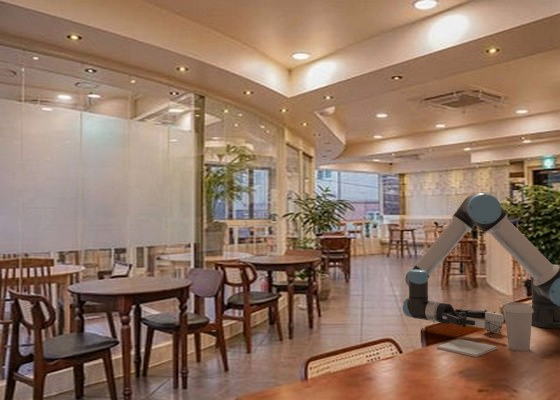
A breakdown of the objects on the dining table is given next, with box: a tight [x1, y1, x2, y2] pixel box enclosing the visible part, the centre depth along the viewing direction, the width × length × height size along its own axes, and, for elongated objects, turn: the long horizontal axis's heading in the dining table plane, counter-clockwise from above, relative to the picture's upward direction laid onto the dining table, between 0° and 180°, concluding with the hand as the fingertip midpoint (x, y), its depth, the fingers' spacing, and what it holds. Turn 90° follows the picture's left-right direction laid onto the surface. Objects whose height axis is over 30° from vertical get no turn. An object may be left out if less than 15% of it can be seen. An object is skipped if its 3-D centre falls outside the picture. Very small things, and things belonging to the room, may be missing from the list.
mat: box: [436, 338, 497, 358], centre depth 167 cm, size 14×14×1 cm
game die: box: [482, 311, 506, 335], centre depth 188 cm, size 9×8×10 cm
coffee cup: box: [502, 301, 534, 352], centre depth 167 cm, size 10×10×15 cm
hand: (494, 321), depth 173 cm, fingers open, 13 cm apart
